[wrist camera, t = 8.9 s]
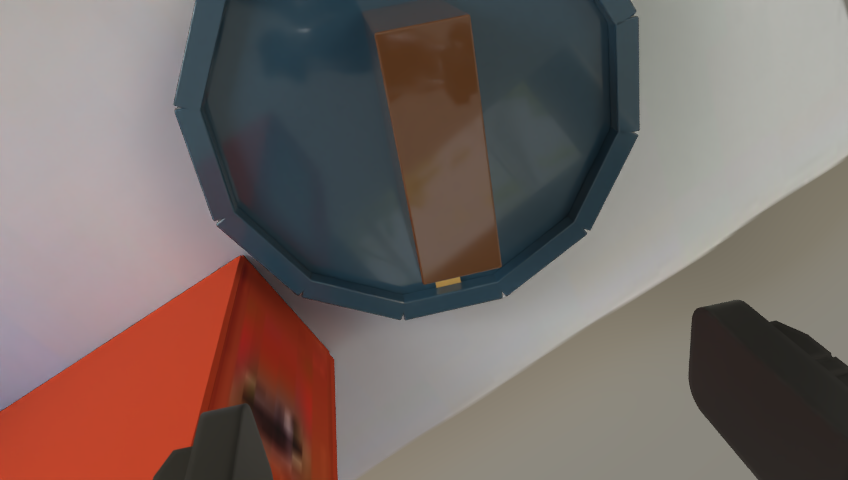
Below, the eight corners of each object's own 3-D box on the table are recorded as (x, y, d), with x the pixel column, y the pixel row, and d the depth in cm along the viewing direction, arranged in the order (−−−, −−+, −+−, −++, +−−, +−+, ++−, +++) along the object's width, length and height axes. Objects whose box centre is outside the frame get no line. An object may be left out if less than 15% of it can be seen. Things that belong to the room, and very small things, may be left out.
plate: (115, -91, 22) (40, -99, 16) (618, -182, 23) (722, -222, 17) (262, 334, 31) (249, 432, 25) (627, 252, 32) (699, 327, 26)
